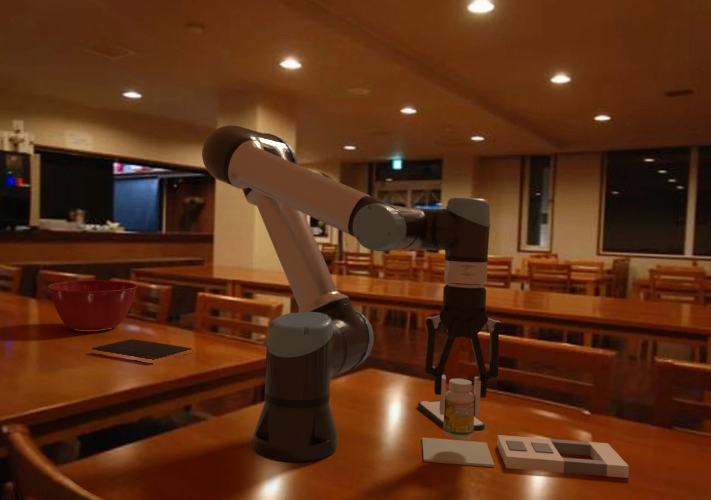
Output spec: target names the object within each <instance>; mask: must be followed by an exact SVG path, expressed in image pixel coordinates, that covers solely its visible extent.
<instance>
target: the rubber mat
mask: <svg viewBox="0 0 711 500" xmlns="http://www.w3.org/2000/svg"><path fill="white" fill-rule="evenodd" d="M421 440H422V441H421V442H422V455H423V456H422V457H423V462H427V463H428V462H429V463H442V464H451V465H452V464H453V465H463V466H464V465H466V466H475V467H477V466H478V467H488V468H490V467H491V468H495V462H494V460H493V457H492V454H491V452H490V449H489V446H488V443H487V442H485V441H473V440H462V439H446V438H444V439H443V438H435V437H433V438H432V437H422V439H421Z"/></svg>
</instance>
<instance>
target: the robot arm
mask: <svg viewBox="0 0 711 500" xmlns="http://www.w3.org/2000/svg"><path fill="white" fill-rule="evenodd" d="M201 150H202V151H201V157H202V162H203V164H204V168H205V169H206V171H207V172H208V173H209V175H210V176H211V177H213V178H215V179H216V180H217V181H220V182H222V183H225V184H228V185H230V186H231V187H234V188H236V189H239V190H240V189H241V190H242V192H243V194H244V197H245V200H246V201H247V202H246V203H249V204H250V205H252V206H253V205H254V206H256V208H257V209H258V212H259V214H260V215H259V216H260V217H261V219H262V222H263V224H264V227H265V229H266V231H267V235H268V236H269V239H270V241H271V243H272V246H273V249H274V250H275V253H276V255H277V258H278V260H279V262H280V265H281V267H282V270H283V273H284V274H285V276H286V279H287V281H288V284H289V287H290V289H291V292H292V295H293V296H294V299H295V301H296V304H297V306H298V308H299V309H298V312H296V313H294V312H290V313H289V312H288V313H285V314H282V315H279V316H276V317H275V318H274V319H272V320H271V321H270V323H269V325H268V328H267V336H266V339H265V348H266V351H265V352H266V354H265V381H264V383H265V384H264V387H265V388H264V403H263V406H262V409H261V412H260V414H259V417H258V420H257V423H256V425H255V428H254V431H253V436H252V437H253V441H252V442H253V443H252V447H253V449H254V451H255V452H256V453H257V454H259V455H261V456H262V457H265V458H267V459H270V460H276V461H279V462H280V461H281V462H290V463H291V462H292V463H293V462H294V463H297V462H300V463H301V462H309V461H315V460H316V461H317V460H320V459H324V458H325V457H327V456H328V457H329V456H330V455H332V454H333V453H335V451H336V450H337V448H338V435H339V434H338V430H337V427H336V423H335V419H334V416H333V412H332V408H331V404H330V396H331V395H330V391H331V378H333V377H335V376H338V375H340V374H342V373H344V372H349V371H350V370H354V369H355V368H357V367H358V366H359V365H361V364H362V363H364V361H366V359H368V357H369V355H370V354H371V351H372V348H373V345H374V340H375V339H374V332H373V327H372V324H371V323H370V321H369V319H368V318H367V317H366V316H365V315H364V314H362V313H360V312H359V311H357V310H355V309H354V307H353V304H352V301H351V299H350V297H349V296H348V295H345V294H343V293H340V291H338V289H337V286H336V284H335V282H334V279H333V277H332V275H331V273H330V270H329V267H328V265H327V263H326V261H325V258H324V256H323V254H322V251H321V249H320V247H319V244H318V243H317V239H316V238H315V236H314V233H313V231H312V228H311V226H310V224H309V222H308V219H307V217H306V215H307V216H309V217H311V218H314V219H315V220H317V221H320V222H321V223H324V224H327V225H328V226H330V227H333V228H334V229H337V230H339V231H341V232H343V233H344V234H347V235H350V236H352V237H353V238H355V239H356V241H357V242H358V244H360V245H361V246H362V247H364V248H365V249H368V250H371V251H376V252H387V251H396V250H433V251H436V250H437V251H444V254H445V255H444V268H443V270H444V272H443V281H444V283H445V285H444V286H443V291H442V292H443V293H442V295H443V296H442V308H441V311H440V312H439V314H438V315H435V316H426V317H425V325H426V328H427V337H426V338H427V339H426V350H425V363H424V369H425V373H427V374H430V375H433V377H434V383H433V385H434V388H433V390H434V391H433V392H434V394H435V396H436V395H438V396H439V400H440V408H439V410H440V415H445V394H446V392H447V391H446V390H447V389H446V388H447V376H446V374H444V372H445V368H446V365H447V362H448V360H449V357H450V354H451V350H452V348H453V344H454V342H455V339H456V338H462V337H463V338H466V339H470V341H471V346H472V350H473V355H474V358H475V362H476V363H475V364H476V367H477V370H478V376H474V385H473V386H474V387H473V389H474V390H473V395H474V397H475V408H474V417H476V418H480V411H481V410H480V407H481V405H480V404H481V398H484V399H485V398H486V397H487V387H488V380H489V379H492V378H494V379H495V378H497V377H498V376H499V350H500V349H499V345H500V344H499V339H500V337H499V336H500V333H501V330H502V328H503V324H502V322H501V321H500V320H498V319H495V320H494V319H493V318H489V316H488V315H487V312H486V309H487V308H486V306H487V305H486V304H487V289H486V287H485V286H484V285H486V284H487V282H488V262H489V261H488V260H489V258H488V254H489V244H490V243H489V241H490V240H489V239H490V229H491V223H490V203H489V202H488V201H487V199H485V198H475V197H451V198H449V199H448V200H447V204H446V207H445V208H439V209H437V208H436V209H435V208H417V207H416V208H415V207H407V206H399V205H394V204H391V203H388V202H386V201H383V200H381V199H378V198H377V197H373V196H371V195H369V194H367V193H364V192H362V191H360V190H357V189H355V188H353V187H350V186H348V185H345V184H343V183H341V182H339V181H336V180H334V179H331V178H330V177H327V176H325V175H322V174H320V173H317V171H316V172H315V171H313V170H311V169H308V168H305V167H304V166H302V165H299V164H298V156H297V154H296V152H295V150H294V148H293V146H292V145H290V143H288V142H287V141H286V140H284V138H281V137H279V136H277V135H275V134H272V133H266V132H264V133H263V132H260V131H257V130H252V129H250V128H246V127H243V126H239V125H234V124H233V125H232V124H231V125H230V124H229V125H223V126H219V127H218V128H216V129H214V130H213V131H212V132H210V133H209V134H208V135H207V137H206V138H205V141H204V143H203V146H202V149H201ZM440 322H441V323H442V324H443V326H444V328H445V329H446V330H447V332H446V335H445V339H444V342H443V344H442V345H443V346H442V348H441V350H440V354H439V357H438V360H437V362H436V363H437V364H436V365H435V366H434V356H435V355H434V353H435V341H436V329H438V327H439V324H440ZM486 325H487V329H488V331H489V351H488V352H489V359H488V366H489V367H488V369H486V368H487V367H486V364H485V361H484V360H485V359H484V356H483V353H482V352H483V351H482V347H481V343H480V337H479V333H480V332H481V330H482V329H483V328H484V327H485V326H486Z"/></svg>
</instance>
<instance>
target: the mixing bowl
mask: <svg viewBox="0 0 711 500" xmlns="http://www.w3.org/2000/svg"><path fill="white" fill-rule="evenodd" d="M138 287H139V285H138V284H136V283H132V282H127V281H117V280H73V281H72V280H70V281H62V282H61V281H60V282H55V283H51V284H49V285H48V286H47V288H48V289H49V293H50V297H51V300H52V303H53V305H54V307H55V311H56V313H57V315H58V316H59V318H60V320H61V321H62V323H63V324H64V325H65V326H67V328H69V329H71V328H72V329H78V330H100V329H108V328H113V327H114V328H116V327H118V326H119V325H120V324H121V323H122V322H123V321H124V320H125V318H126V316H127V314H128V312H129V311H130V309H131V307H132V304H133V301H134V299H135V295H136V291H137V288H138ZM114 328H113V329H114ZM72 329H71V330H72Z"/></svg>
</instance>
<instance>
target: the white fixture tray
mask: <svg viewBox="0 0 711 500" xmlns="http://www.w3.org/2000/svg"><path fill="white" fill-rule="evenodd" d="M496 442H497V443H496V447H497V449H498V451H499V453H500V456H501V458H502V461H503V464H504V466H505V468H506V469H513V470H514V469H516V470H523V471H524V470H525V471H539V472H550V473H564V474H575V475H584V476H585V475H587V476H598V477H612V478H613V477H614V478H615V477H616V478H623V479H624V478H625V479H628V478H629V470H630V469H629V468H630V466H629V465H628V463H626V461H624V459H623V458H622V457H621V456H620V455H619V453H617V451H616V450H615V449H613V447H612V446H611V445H610V444H609V443H607V442H595V441H584V440H583V441H582V440H581V441H580V440H568V439H553V438H543V437H542V438H541V437H530V436H529V437H527V436H516V435H505V434H503V435H502V434H501V435H500V434H497V441H496ZM561 454H563V455H564V454H565V455H576V456H577V455H578V456H588V457H589V456H590V458H592V459H586V458H573V457H563V456H561Z"/></svg>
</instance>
